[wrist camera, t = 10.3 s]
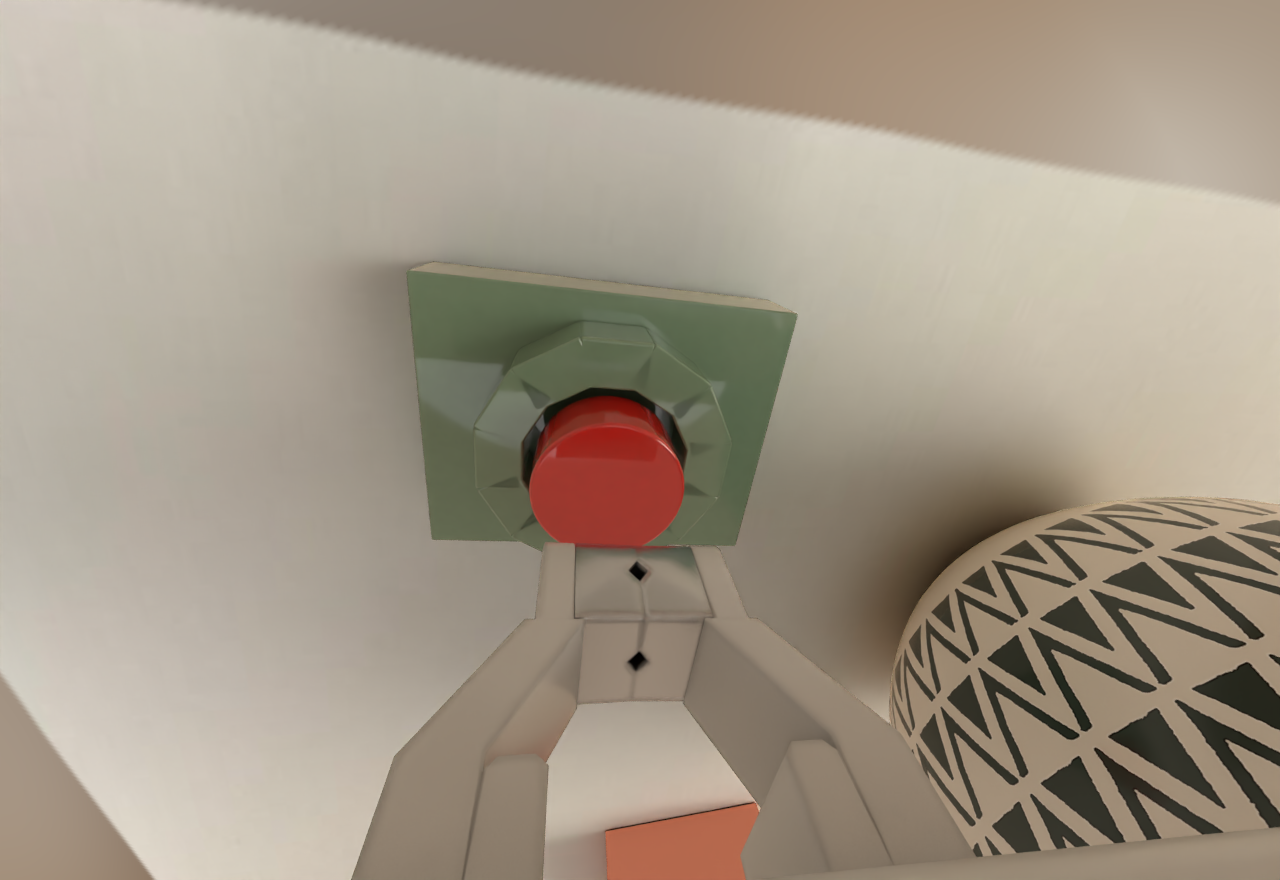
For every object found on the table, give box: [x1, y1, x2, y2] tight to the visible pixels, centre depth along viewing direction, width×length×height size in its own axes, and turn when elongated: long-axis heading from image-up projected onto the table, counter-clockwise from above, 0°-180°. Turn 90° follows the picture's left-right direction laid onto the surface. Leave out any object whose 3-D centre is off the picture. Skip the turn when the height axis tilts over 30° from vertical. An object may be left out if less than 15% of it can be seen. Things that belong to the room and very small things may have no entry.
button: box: [529, 396, 685, 546], centre depth 11 cm, size 4×4×2 cm
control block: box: [406, 261, 798, 552], centre depth 13 cm, size 10×8×4 cm
